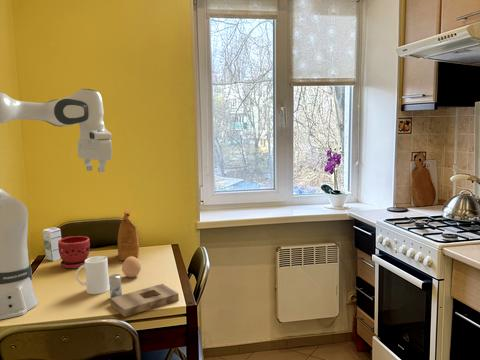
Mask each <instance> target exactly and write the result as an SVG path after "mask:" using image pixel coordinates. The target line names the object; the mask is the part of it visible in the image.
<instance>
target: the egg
mask: <svg viewBox="0 0 480 360" xmlns="http://www.w3.org/2000/svg"><path fill="white" fill-rule="evenodd" d="M141 268H142V267H141V263H140V260H139V259H138V258H135V257H133V256H131V257H128V258H126V259H125V260H123V261H122V265H121V270H122V273H123V274H124V275H125V276H126V277H127V278H135V277H137V276H138V275H139V274H140V272H141Z"/></svg>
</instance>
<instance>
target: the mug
mask: <svg viewBox="0 0 480 360" xmlns="http://www.w3.org/2000/svg"><path fill="white" fill-rule="evenodd" d="M108 263H109V262H108V256H104V255H96V256H95V255H94V256H90V257H87V259H86V260H85V264H84V265H82V266H80V267H78V268H77V270H76V271H75V280H76V281H77V283H78V284H80V285H82V286H86V293H87V294H89V295H100V294H103V293H106V292H109V291H110V284H109V276H110V275H109V264H108ZM81 269H85V279H86V281H85V282H83V281H80V280H79V278H78V273H79V272H80V270H81Z"/></svg>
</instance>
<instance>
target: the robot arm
mask: <svg viewBox="0 0 480 360" xmlns="http://www.w3.org/2000/svg"><path fill="white" fill-rule="evenodd" d="M104 113H105V111H104V103H103V98H102V95H101V93H100V91H98V90H94V89H89V88H80V89H78V90H77V91H76V92H75V93H72V94H70V95H68V96H66V97H62V98H59V99H58V98H57V99H52V100H49V101H46V102H34V101H22V100H17V99H14V98H13V97H10V96H9V95H8V94H6V93H4V92H0V124H4V123H9V122H11V121H15V120H29V121H41V122H42V121H43V122H47V123H48V124H50V125H52V126H55V127H61V128H62V127H65V126H66V127H68V126H73V125H76V124H78V125H79V127H78V128H79V139H78V140H77V156H78V158H79V159H83V163H84V165H85V169H86V171H88V172H91V171H93V166H92V163H91V161H92V160H95V161H96V160H97V161H98V163H99V165H98V166H99V167H97V171H98V173H105V171H106V170H105V167H106V164H107V161H111V159H112V158H113V144H112V140H111V139H112V138H113V134H112V133H111V132H110V131H109V130H108V129H107V128H106V127H105V122H104ZM28 222H29V211H28V209H27V206H26V205H25V203H23V201H21V200H19V199H17V198H15V197H14V196H12V195H11V194H9V193H8V192H6V191H5V190H4V189H2V188H1V187H0V320H4V319H9V318H15V317H20V316H23V315H25V314H26V313H27V312H28V311H29V310H31V309H33V308H35V307H36V306H37V305H38V303H39V300H38V298H37V296H36V293H35V290H34V286H33V282H32V279H33V272H32V266H31V264H30V261H29V249H28V229H29V228H28V227H29V226H28V225H29V223H28Z"/></svg>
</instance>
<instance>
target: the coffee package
mask: <svg viewBox="0 0 480 360" xmlns="http://www.w3.org/2000/svg"><path fill="white" fill-rule="evenodd" d="M123 213H124V215H123V218H122V220H121V221H120V224H119V228H118V232H117V256H118V259H119V261H125V259H126V258H128V257H131V256H133V257H135V258H137V259H138V258H139V254H140V238H139V234H138V230H137V227H136V225H135V223H134V222H133V221H132V220H131V219H130V213H131V210H130V209H129V208H126V209H125V211H123Z"/></svg>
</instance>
